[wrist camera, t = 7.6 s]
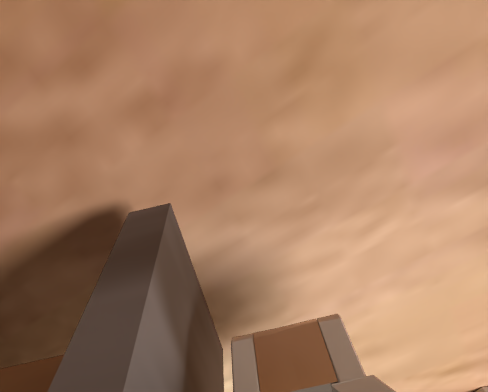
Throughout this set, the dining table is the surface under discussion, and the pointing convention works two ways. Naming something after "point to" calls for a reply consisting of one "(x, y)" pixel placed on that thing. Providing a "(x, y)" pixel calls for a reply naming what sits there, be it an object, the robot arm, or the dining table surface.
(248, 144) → the dining table surface
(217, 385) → the push rod
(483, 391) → the low poly bottle
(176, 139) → the dining table surface
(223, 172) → the dining table surface
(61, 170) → the dining table surface
